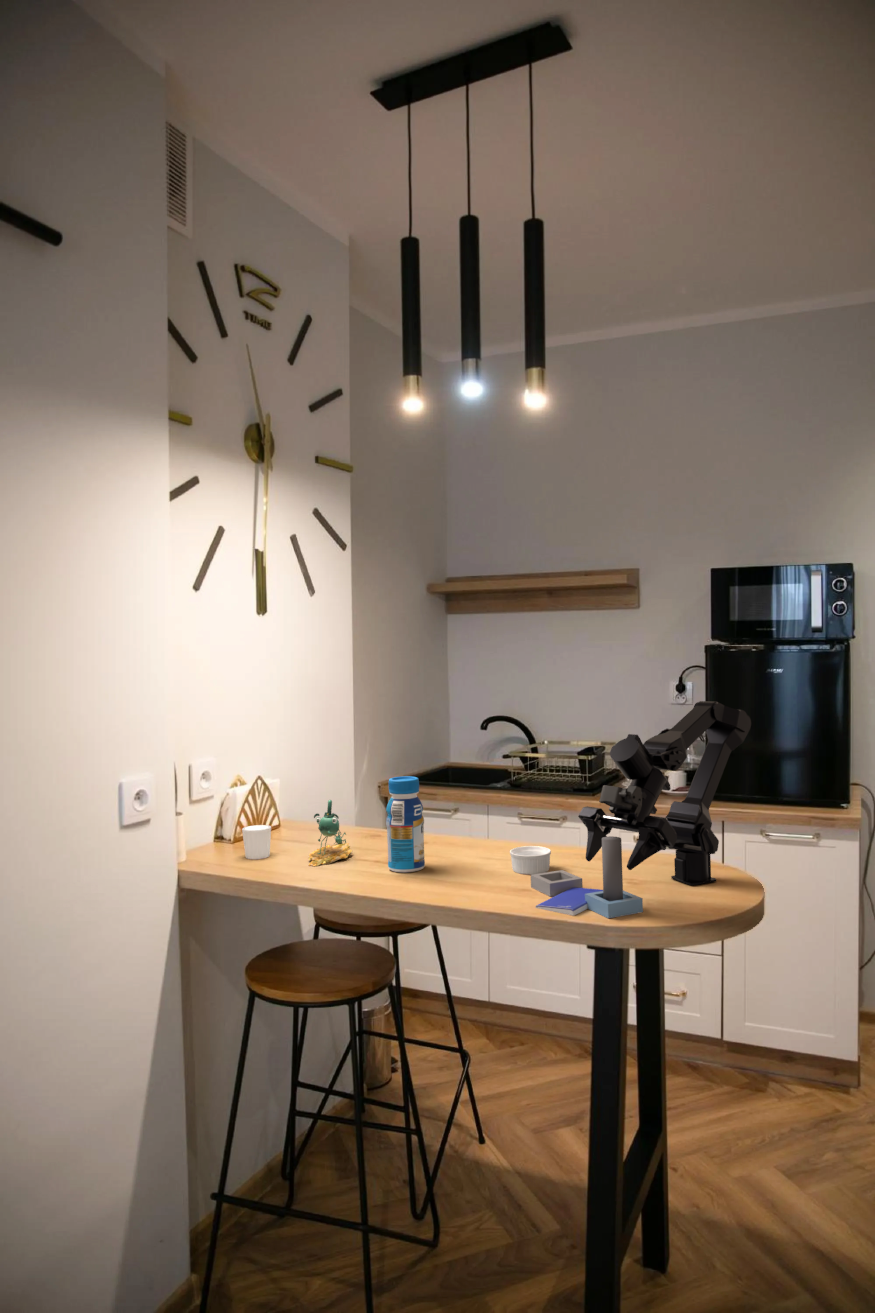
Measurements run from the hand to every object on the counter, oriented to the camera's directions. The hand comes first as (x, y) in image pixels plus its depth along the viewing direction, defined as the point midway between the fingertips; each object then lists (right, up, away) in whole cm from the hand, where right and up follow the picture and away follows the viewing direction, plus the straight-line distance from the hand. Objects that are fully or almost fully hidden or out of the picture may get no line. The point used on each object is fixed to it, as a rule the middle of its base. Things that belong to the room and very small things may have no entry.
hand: (607, 864), depth 156 cm
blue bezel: (+1, -9, +1) cm, 9 cm away
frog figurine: (-55, -10, +48) cm, 74 cm away
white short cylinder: (-74, -11, +51) cm, 91 cm away
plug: (+1, -9, +1) cm, 9 cm away
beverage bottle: (-38, -10, +35) cm, 52 cm away
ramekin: (-10, -9, +31) cm, 34 cm away
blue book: (-5, -9, +6) cm, 12 cm away
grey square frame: (-7, -9, +15) cm, 19 cm away
